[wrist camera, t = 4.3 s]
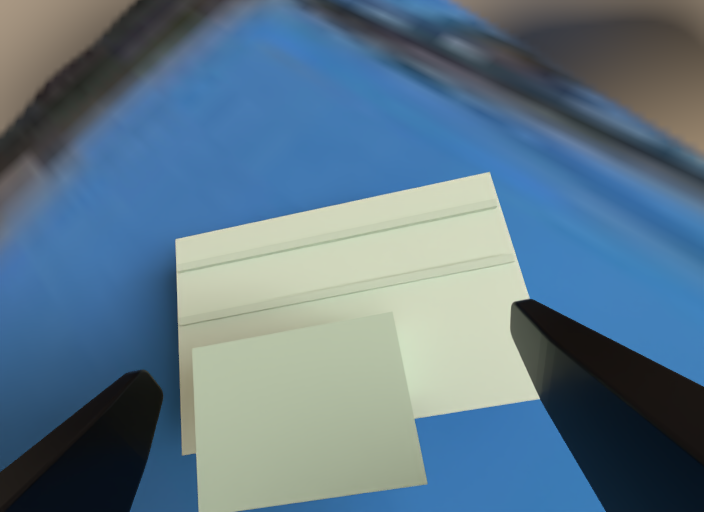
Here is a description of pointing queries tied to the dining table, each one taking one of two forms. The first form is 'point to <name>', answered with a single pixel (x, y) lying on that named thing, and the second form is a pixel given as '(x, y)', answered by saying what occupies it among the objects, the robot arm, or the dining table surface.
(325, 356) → the pale green grooved stand
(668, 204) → the dining table surface
